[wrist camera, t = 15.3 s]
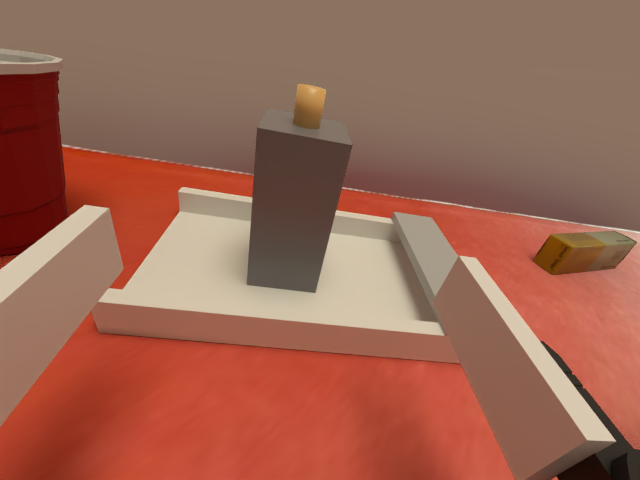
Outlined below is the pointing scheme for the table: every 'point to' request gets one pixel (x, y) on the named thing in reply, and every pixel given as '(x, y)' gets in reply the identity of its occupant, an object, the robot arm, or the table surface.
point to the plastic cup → (29, 150)
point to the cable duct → (287, 305)
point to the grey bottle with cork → (295, 192)
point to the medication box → (583, 252)
